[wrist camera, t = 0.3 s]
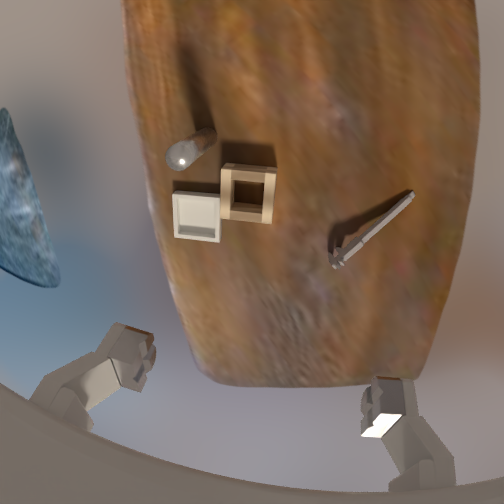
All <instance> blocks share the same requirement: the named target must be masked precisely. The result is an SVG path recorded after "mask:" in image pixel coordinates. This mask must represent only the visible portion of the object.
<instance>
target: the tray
mask: <svg viewBox="0 0 504 504" xmlns="http://www.w3.org/2000/svg"><path fill="white" fill-rule="evenodd" d="M172 198H173V219H174V237H176V238H185V239H194V240H202V241H211V242H220V240H221V238H222V219H221V218H220V194H215V193H203V192H191V191H178V190H176V191H175V192H174V193H173V194H172Z"/></svg>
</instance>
